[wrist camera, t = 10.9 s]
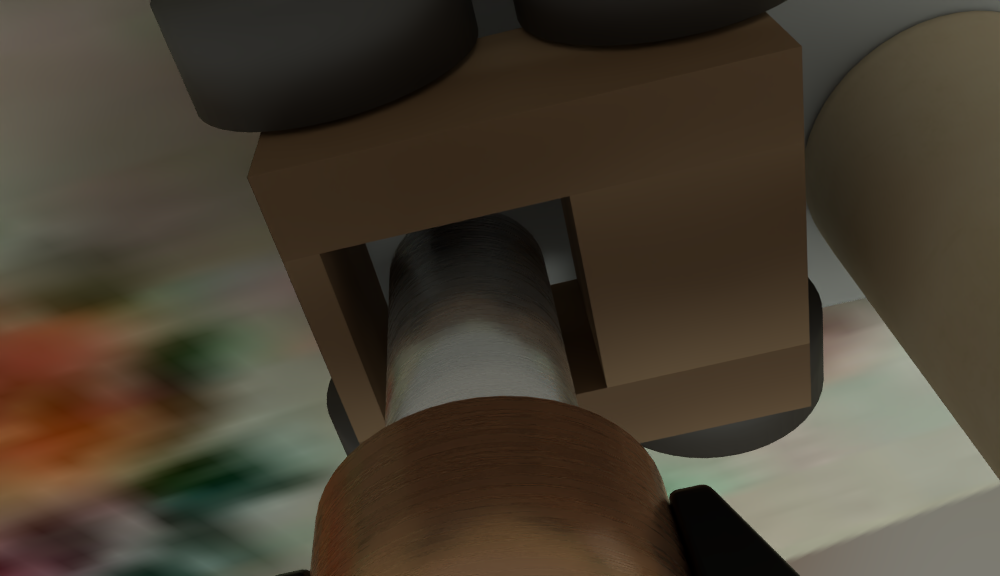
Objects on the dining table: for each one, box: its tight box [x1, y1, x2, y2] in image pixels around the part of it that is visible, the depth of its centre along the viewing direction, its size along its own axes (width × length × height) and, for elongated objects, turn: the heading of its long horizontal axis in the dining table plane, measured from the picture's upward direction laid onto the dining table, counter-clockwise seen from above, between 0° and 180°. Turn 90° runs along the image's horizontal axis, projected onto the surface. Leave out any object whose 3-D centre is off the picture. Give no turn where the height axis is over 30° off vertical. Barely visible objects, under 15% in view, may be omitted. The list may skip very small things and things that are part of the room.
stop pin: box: [310, 213, 692, 576], centre depth 10 cm, size 4×4×9 cm
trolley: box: [150, 0, 824, 458], centre depth 15 cm, size 9×9×5 cm
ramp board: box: [365, 0, 1000, 307], centre depth 17 cm, size 10×18×2 cm, turn 102°
